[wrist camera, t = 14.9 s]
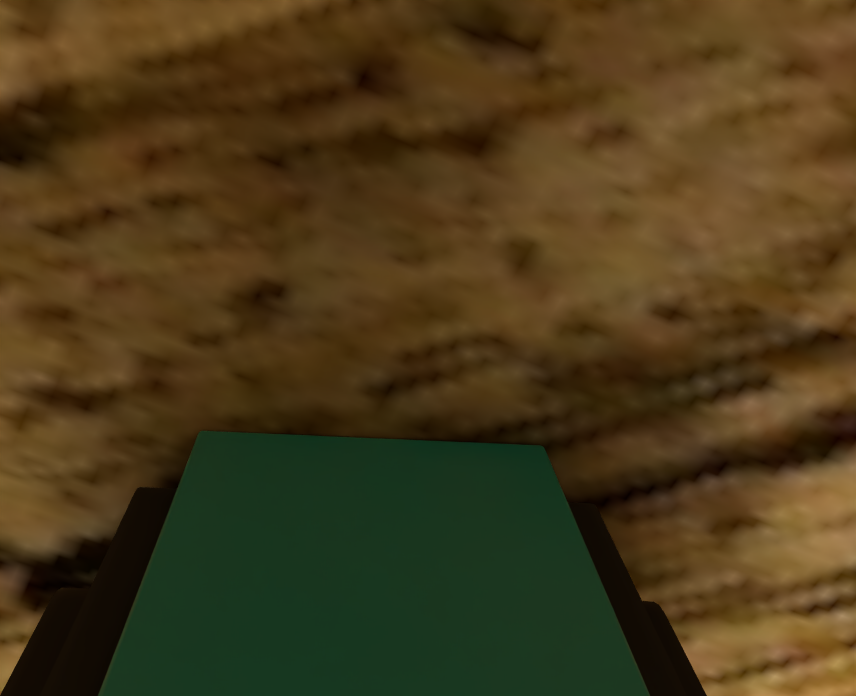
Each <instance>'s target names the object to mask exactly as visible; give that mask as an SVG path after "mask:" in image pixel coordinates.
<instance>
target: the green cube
mask: <svg viewBox="0 0 856 696" xmlns="http://www.w3.org/2000/svg"><path fill="white" fill-rule="evenodd" d="M98 696H650V694H649V692H648V690H647V687H646V685H645V683H644V680H643V678H642V676H641V673H640V671H639V669H638V666H637V664H636V662H635V659H634V657H633V655H632V652H631V650H630V648H629V645H628V643H627V641H626V638H625V636H624V634H623V631H622V629H621V626H620V624H619V622H618V619H617V617H616V615H615V612H614V610H613V608H612V605H611V603H610V601H609V598H608V596H607V594H606V591H605V589H604V587H603V584H602V582H601V580H600V577H599V575H598V573H597V570H596V568H595V566H594V563H593V561H592V559H591V556H590V554H589V551H588V549H587V547H586V544H585V542H584V540H583V537H582V535H581V533H580V530H579V528H578V526H577V523H576V521H575V519H574V516H573V514H572V512H571V509H570V507H569V505H568V502H567V500H566V498H565V495H564V493H563V491H562V488H561V486H560V484H559V481H558V479H557V477H556V474H555V472H554V469H553V467H552V465H551V462H550V460H549V458H548V455H547V453H546V451H545V448H544V447H543V446H540V445H518V444H495V443H472V442H449V441H426V440H404V439H381V438H358V437H335V436H312V435H289V434H266V433H243V432H220V431H200V432H199V434H198V436H197V439H196V441H195V444H194V446H193V449H192V452H191V454H190V457H189V459H188V462H187V465H186V467H185V470H184V472H183V475H182V478H181V480H180V483H179V485H178V488H177V491H176V493H175V496H174V499H173V501H172V504H171V506H170V509H169V512H168V514H167V517H166V519H165V522H164V525H163V527H162V530H161V532H160V535H159V538H158V540H157V543H156V546H155V548H154V551H153V553H152V556H151V559H150V561H149V564H148V566H147V569H146V572H145V574H144V577H143V579H142V582H141V585H140V587H139V590H138V593H137V595H136V598H135V600H134V603H133V606H132V608H131V611H130V613H129V616H128V619H127V621H126V624H125V626H124V629H123V632H122V634H121V637H120V640H119V642H118V645H117V647H116V650H115V653H114V655H113V658H112V660H111V663H110V666H109V668H108V671H107V673H106V676H105V679H104V681H103V684H102V687H101V689H100V692H99V694H98Z"/></svg>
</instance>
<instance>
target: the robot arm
mask: <svg viewBox="0 0 856 696" xmlns="http://www.w3.org/2000/svg"><path fill="white" fill-rule="evenodd" d="M176 491H177V488H150V487H139V488H137V490H136V491H135V493H134V495H133V497H132V499H131V502H130V504H129V506H128V508H127V510H126V512H125V514H124V517H123V519H122V521H121V523H120V525H119V527H118V529H117V531H116V534H115V536H114V538H113V540H112V542H111V544H110V546H109V549H108V551H107V553H106V555H105V557H104V559H103V561H102V564H101V566H100V568H99V570H98V572H97V574H96V576H95V578H94V581H93V583H92V585H91V587H90V588H61V589H59V590H58V591H56V593H55V594H54V595H53V597H52V598H51V600H50V602H49V604H48V606H47V607H46V609H45V611H44V613H43V615H42V617H41V619H40V621H39V623H38V625H37V626H36V628H35V630H34V632H33V634H32V636H31V638H30V640H29V642H28V644H27V645H26V647H25V649H24V651H23V653H22V655H21V657H20V659H19V661H18V663H17V664H16V666H15V668H14V670H13V672H12V674H11V676H10V678H9V680H8V682H7V684H6V685H5V687H4V689H3V691H2V693H1V695H0V696H98V694H99V692H100V689H101V687H102V684H103V681H104V679H105V676H106V673H107V671H108V668H109V666H110V663H111V660H112V658H113V655H114V653H115V650H116V647H117V645H118V642H119V640H120V637H121V634H122V632H123V629H124V626H125V624H126V621H127V619H128V616H129V613H130V611H131V608H132V606H133V603H134V600H135V598H136V595H137V593H138V590H139V587H140V585H141V582H142V579H143V577H144V574H145V572H146V569H147V566H148V564H149V561H150V559H151V556H152V553H153V551H154V548H155V546H156V543H157V540H158V538H159V535H160V532H161V530H162V527H163V525H164V522H165V519H166V517H167V514H168V512H169V509H170V506H171V504H172V501H173V499H174V496H175V493H176ZM568 505H569V507H570V509H571V512H572V514H573V516H574V519H575V521H576V523H577V526H578V528H579V530H580V533H581V535H582V537H583V540H584V542H585V544H586V547H587V549H588V551H589V554H590V556H591V559H592V561H593V563H594V566H595V568H596V570H597V573H598V575H599V577H600V580H601V582H602V584H603V587H604V589H605V591H606V594H607V596H608V598H609V601H610V603H611V605H612V608H613V610H614V612H615V615H616V617H617V619H618V622H619V624H620V626H621V629H622V631H623V634H624V636H625V638H626V641H627V643H628V645H629V648H630V650H631V652H632V655H633V657H634V659H635V662H636V664H637V666H638V669H639V671H640V673H641V676H642V678H643V680H644V683H645V685H646V687H647V690H648V692H649V694H650V696H707V695H706V693H705V691H704V689H703V687H702V685H701V684H700V682H699V680H698V678H697V676H696V674H695V672H694V670H693V668H692V666H691V664H690V662H689V660H688V658H687V656H686V654H685V652H684V650H683V648H682V646H681V644H680V642H679V640H678V638H677V636H676V634H675V632H674V630H673V628H672V626H671V625H670V623H669V621H668V619H667V617H666V615H665V613H664V611H663V610H662V608H661V607H660V606H659V605H658V604H657V603H655V602H649V601H642V600H641V598H640V596H639V594H638V592H637V590H636V588H635V586H634V584H633V582H632V580H631V578H630V575H629V573H628V571H627V569H626V567H625V565H624V563H623V561H622V559H621V557H620V555H619V553H618V550H617V548H616V546H615V544H614V542H613V540H612V538H611V536H610V534H609V532H608V530H607V528H606V525H605V523H604V521H603V519H602V517H601V515H600V513H599V511H598V509H597V507H596V506H595V504H592V503H568Z"/></svg>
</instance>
